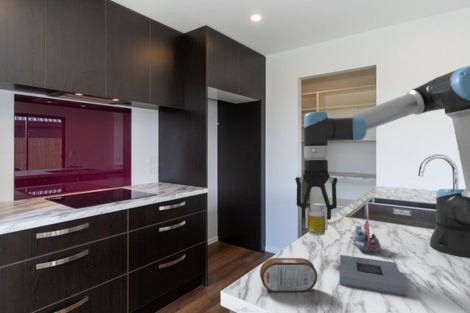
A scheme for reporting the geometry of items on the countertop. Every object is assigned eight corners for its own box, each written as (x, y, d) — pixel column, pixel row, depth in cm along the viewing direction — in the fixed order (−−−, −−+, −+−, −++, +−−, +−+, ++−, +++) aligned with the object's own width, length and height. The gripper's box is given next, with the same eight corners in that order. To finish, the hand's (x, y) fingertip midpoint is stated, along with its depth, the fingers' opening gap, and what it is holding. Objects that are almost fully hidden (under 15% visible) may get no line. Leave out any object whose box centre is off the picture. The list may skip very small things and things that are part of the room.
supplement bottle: (313, 236, 87) (313, 206, 87) (305, 232, 92) (304, 203, 92) (328, 235, 88) (328, 205, 88) (319, 230, 93) (318, 202, 93)
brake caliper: (390, 250, 94) (368, 221, 96) (363, 266, 96) (342, 237, 98) (382, 239, 105) (362, 214, 106) (358, 254, 107) (338, 229, 109)
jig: (395, 270, 83) (395, 262, 83) (406, 296, 68) (407, 286, 68) (340, 262, 89) (340, 254, 89) (339, 284, 74) (339, 275, 74)
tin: (314, 287, 73) (315, 256, 73) (318, 293, 70) (319, 261, 70) (259, 287, 72) (259, 257, 72) (261, 294, 69) (261, 261, 69)
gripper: (286, 159, 89) (287, 228, 90) (345, 159, 83) (346, 234, 83) (290, 158, 96) (291, 222, 97) (345, 158, 90) (346, 227, 90)
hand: (316, 227), depth 90 cm, fingers closed on supplement bottle, 5 cm apart
